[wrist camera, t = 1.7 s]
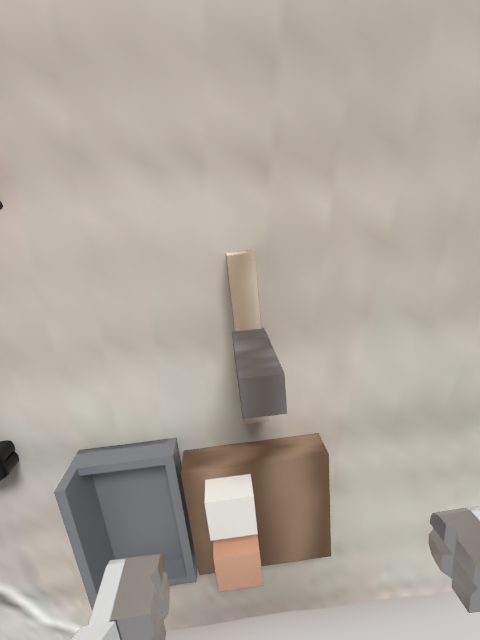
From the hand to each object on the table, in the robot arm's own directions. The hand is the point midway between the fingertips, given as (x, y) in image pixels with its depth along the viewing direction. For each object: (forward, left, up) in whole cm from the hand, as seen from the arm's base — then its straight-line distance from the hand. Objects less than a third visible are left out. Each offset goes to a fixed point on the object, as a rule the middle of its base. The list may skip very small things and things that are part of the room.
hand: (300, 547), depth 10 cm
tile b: (+3, +20, -17) cm, 26 cm away
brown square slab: (0, +17, -20) cm, 26 cm away
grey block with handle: (0, 0, -20) cm, 20 cm away
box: (+12, +17, -20) cm, 29 cm away
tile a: (+3, +14, -17) cm, 22 cm away
